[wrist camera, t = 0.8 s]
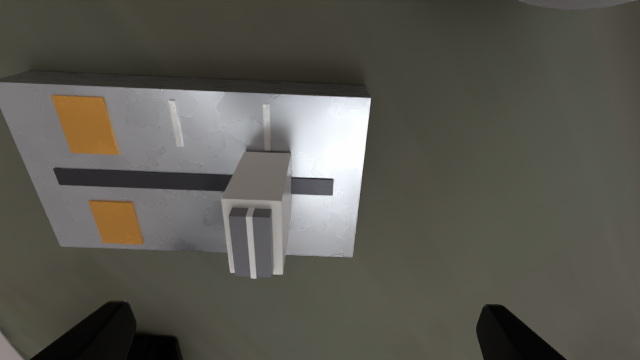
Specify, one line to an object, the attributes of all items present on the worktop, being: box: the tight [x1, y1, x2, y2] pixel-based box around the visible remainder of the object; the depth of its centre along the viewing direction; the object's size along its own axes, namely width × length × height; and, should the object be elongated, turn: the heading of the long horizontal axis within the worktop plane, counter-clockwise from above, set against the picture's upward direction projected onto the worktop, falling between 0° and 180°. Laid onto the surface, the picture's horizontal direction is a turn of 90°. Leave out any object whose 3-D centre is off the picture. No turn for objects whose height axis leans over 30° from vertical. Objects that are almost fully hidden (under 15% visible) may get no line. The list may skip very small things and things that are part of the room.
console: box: [0, 71, 371, 257], centre depth 19 cm, size 10×18×3 cm, turn 88°
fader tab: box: [221, 152, 291, 279], centre depth 16 cm, size 4×2×5 cm, turn 178°
